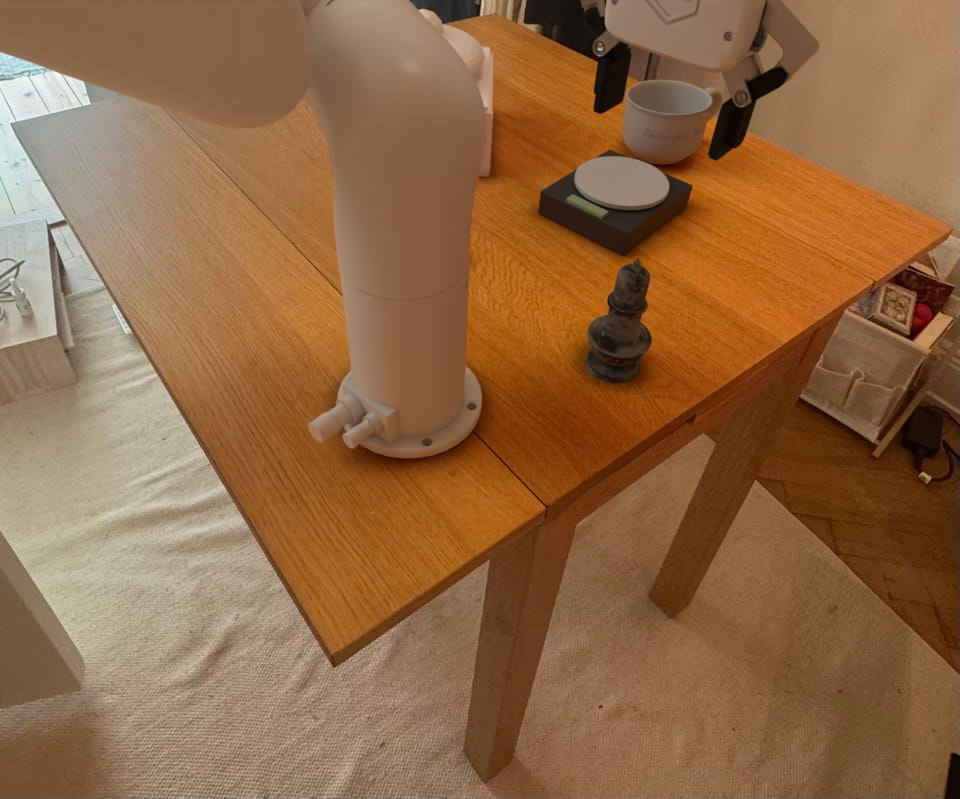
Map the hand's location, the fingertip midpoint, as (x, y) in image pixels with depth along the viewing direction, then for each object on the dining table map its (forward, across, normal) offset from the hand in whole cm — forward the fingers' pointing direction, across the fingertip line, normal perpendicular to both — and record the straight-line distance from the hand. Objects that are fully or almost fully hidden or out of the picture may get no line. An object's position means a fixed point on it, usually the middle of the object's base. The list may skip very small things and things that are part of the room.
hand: (662, 129), depth 54 cm
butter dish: (+23, -42, +18) cm, 51 cm away
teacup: (+23, -17, +38) cm, 48 cm away
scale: (+23, -14, +21) cm, 34 cm away
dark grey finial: (+23, +1, -1) cm, 23 cm away
